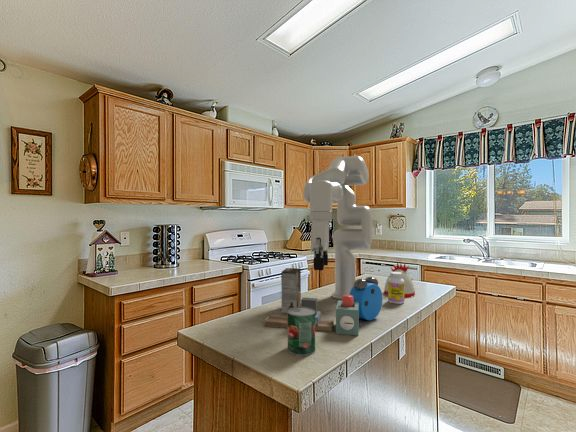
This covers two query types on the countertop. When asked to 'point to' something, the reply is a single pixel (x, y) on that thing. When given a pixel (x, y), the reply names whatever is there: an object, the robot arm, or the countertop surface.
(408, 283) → the kitchen timer
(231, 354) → the countertop surface
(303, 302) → the carriage
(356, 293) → the alarm clock
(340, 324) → the cabinet
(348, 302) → the plunger
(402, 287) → the supplement bottle
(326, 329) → the rail plank
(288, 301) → the coffee box
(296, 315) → the canned tomato
